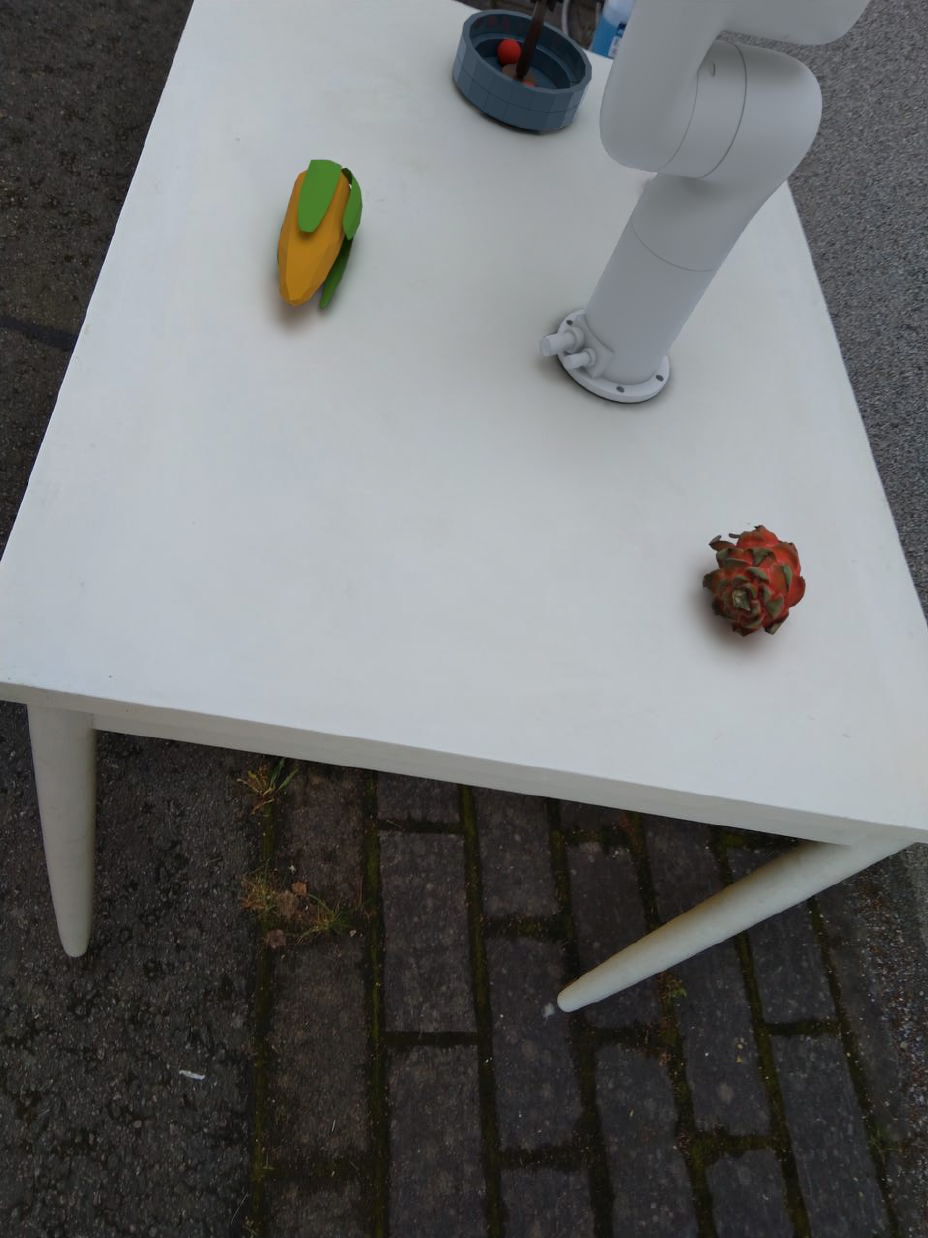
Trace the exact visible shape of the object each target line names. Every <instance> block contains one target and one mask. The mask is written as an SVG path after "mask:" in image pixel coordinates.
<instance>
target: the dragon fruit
mask: <svg viewBox="0 0 928 1238" xmlns="http://www.w3.org/2000/svg"><path fill="white" fill-rule="evenodd" d="M751 524H752V523H748V525H751ZM753 528H755V529H753V530H750V531H749V530H744V531H742V532H741V533H740V534H739V533H732V532H729V533H728V534H727V535H728V538H730V539H737V540H736V543H735V544H734V543H733V542H730V541H729V540H721V539H722V535H721V534H718V535H716V536H715V537H714V538H712V539H711V541H710V542H709V543H708V546H709V547H710V548H711V549H712V550H713V551H716V553H715V560H716V562H717V565H718V568H717V569H714V570H711V571H710V572H709V573H706V574H704V575H703V577H702V581H701V582H702V584H701V585H702V588H703V589H705V588H707V590H709V591H710V592H711V593H712V594H713V597H712V601H711V605H710V606H711V610H712V612H713V614H714V615H715V616H718V617H721V618H722V619H726V620H728V621H730V623H731V629H732V632H734V633H736V634H737V635H739V636H741V637H743V638H745V637H748V636H749V635H751V634H754V633H756V632H757V631H758V630H759V629H760V628H761V627H762V628H763V631H764V632H765V633H767V634H769V635H771V636H774V635H775V634H776V633H777V631H778V630H779V629H780V628H781V627H782V625H783V624H784V623H785V622H786V620H787V619H788V617H789V616H790V609H791V608H794V607H795V606H797V605H798V604H799V603H800V602H801V601H802V599H803V598H804V597H805V594H806V589H807V588H806V586H807V585H806V584H807V583H806V579H805V578H804V577H803V575H801V572H802V566H801V562H800V556H799V552H798V548H797V547H796V545H795V543H794V542H792V541H790V542H788V541H783V540H780V539H779V538H778V536H777V534H776V533H775V532H772V531H771V530H769V529H768V528H767V527H766V526H764V525H763V524H758V525H753Z"/></svg>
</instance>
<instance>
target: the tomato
mask: <svg viewBox="0 0 928 1238" xmlns="http://www.w3.org/2000/svg"><path fill="white" fill-rule="evenodd" d="M520 53H521V50H520V46H519V45H518V43H517V42H516V41H515V40H512V39H506V40H504V41H503V42H501V44H500V45H499V47H498V51H497V56H498V59H499V61H500V63H501V64H502V65H504V66H506V65H508V64H516V63H517V62H518V60H519V56H520Z"/></svg>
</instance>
